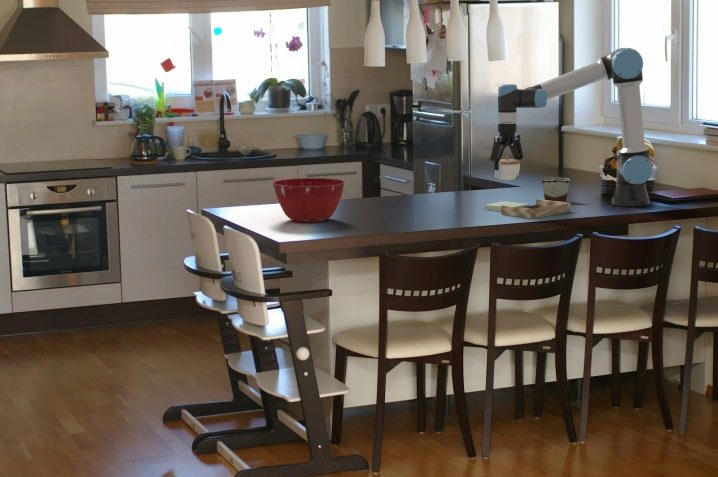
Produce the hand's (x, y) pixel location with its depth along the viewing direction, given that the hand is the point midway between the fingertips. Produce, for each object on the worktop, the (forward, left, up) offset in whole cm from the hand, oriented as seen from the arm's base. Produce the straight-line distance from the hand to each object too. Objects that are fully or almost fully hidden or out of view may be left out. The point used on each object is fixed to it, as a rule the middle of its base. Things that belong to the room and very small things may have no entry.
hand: (506, 176), depth 473 cm
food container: (-1, -31, -14) cm, 34 cm away
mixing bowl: (+40, +72, -14) cm, 83 cm away
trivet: (0, 0, -13) cm, 13 cm away
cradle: (-15, 0, -13) cm, 20 cm away
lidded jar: (0, 0, -1) cm, 1 cm away
